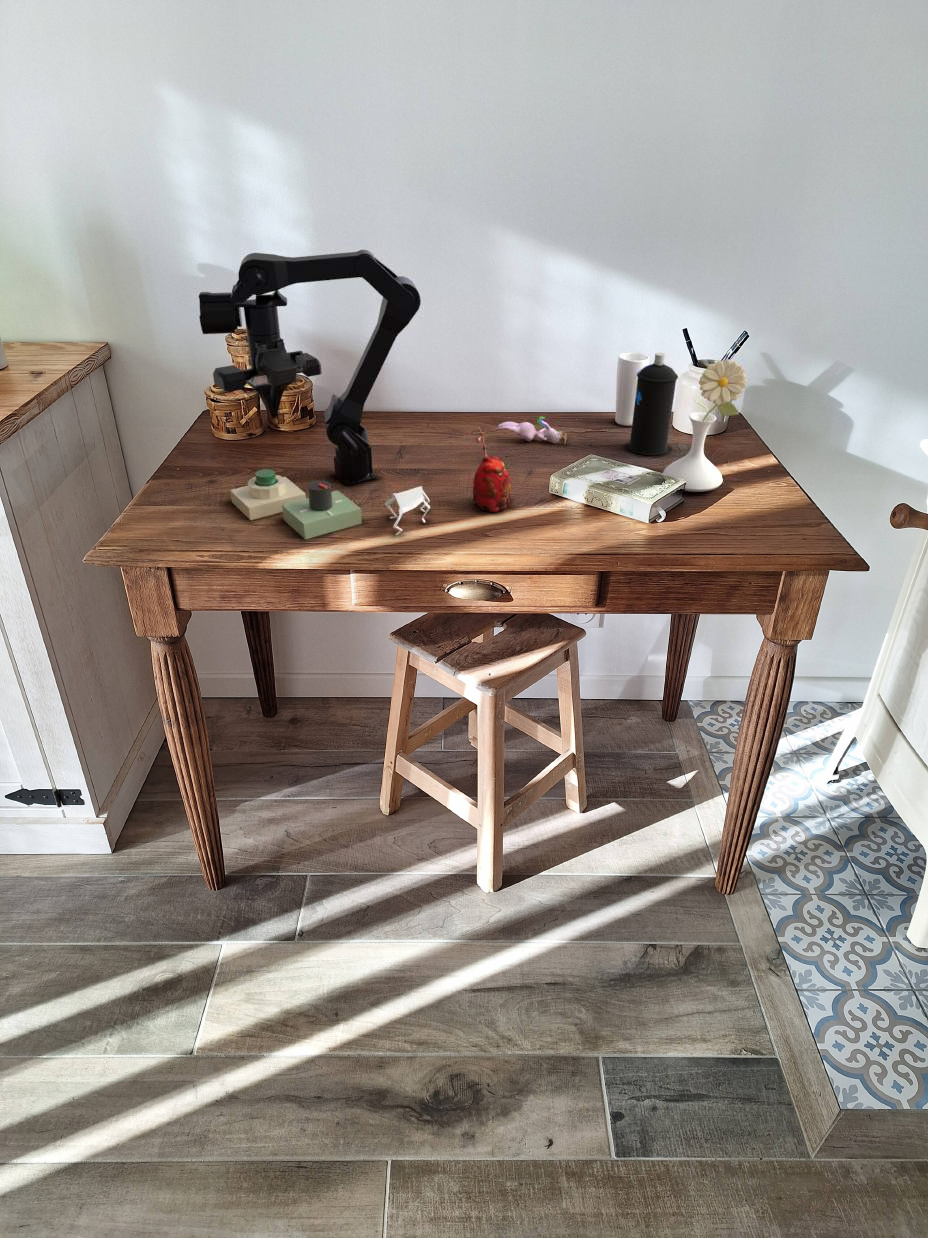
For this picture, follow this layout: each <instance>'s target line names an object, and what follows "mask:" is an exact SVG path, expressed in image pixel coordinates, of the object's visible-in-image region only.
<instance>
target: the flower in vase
mask: <svg viewBox="0 0 928 1238" xmlns="http://www.w3.org/2000/svg"><path fill="white" fill-rule="evenodd" d="M745 372H746V370H745V368H743V366H742V365H739V364H738V363H737V362H736V361H732V360H730V359H728V358H727V359H725V360H718V361H717V362H714V363H709V364H708V366H707V367H706V368H705V369H704V370H703V373H702V374H701V376H699V381H698V385H700V386H699V390H700V391H701V393H700V395H701V397H703V398H704V399H706V400H707V401H708V402H712V403H713V404H714V405H713V406H712V407H711V409H708V407H707V406H706V405H704V404H703V403H701V402H700V401H697V400H696V399H695V398H694V397H693V396H691V398H692V399H693V401H694V402H695V403H696V404H697V405H699V406H701V407H702V408H704V409H706V410H707V411H708V412H705V411H703V412H702V411H697V412H691V413H689V414H688V418H689V420H690V422H691V425H692V439H691V440H692V441H691V445H690V449H689V451H688V453H687V454H686V455H684V456H682V457H681V458H678V459H677V460H675V461H673V462H672V463H669V464H668V465H667V466H666V467H665V468H664V470H663V472H662V474H666V475H669V476H673V477H678V478H681V479H684V480H685V481H686V485H685V490H684V491H685V492H690V493H691V492H692V493H702V492H703V493H704V492H710V491H713V490H716V489H717V488H719V487H720V486H721V485H722V483H723V482H724V480H723V476H722V473H721V471H720V470H719V469H718V468H717V467H716V465H714V464H713V463H712V462H711V461H710V460H709V459H708V458H707V457H706V455H705V452H704V449H705V448H704V447H705V441H706V437H707V434H708V431H709V429H710V427H711V426H712V424H713V423H714V422H716V420H717V416H716V415H714V414H712V413H711V412H713V411H714V410H715V409H716V407H717V409H718V411H719V413H720V414H721V415H722V416H724V417H728V416H737V415H740V412H739V410H738V409H737V407H736V406H735V404H734V403H733V401H737V400H738V398H740V396H741V394H742V393H743V392H744V390H745V388H747V385H748V380H747V379H746V378H747V375H746V374H745Z"/></svg>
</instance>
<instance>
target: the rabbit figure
mask: <svg viewBox="0 0 928 1238" xmlns="http://www.w3.org/2000/svg"><path fill="white" fill-rule="evenodd" d="M545 419H546V417H545V416H539V417H538V418H537V420H536V423H537V425H538V426H539V427H541V428H542V429H540V430H538V431H537V430H536V427H535V426H534V424H532V423H531V422H529V421H528V422H527V421H524V422H520V423H519V422H518V423H517V422H515V421H504V422H502V423H500V424H498V425H497V430H509V431H511V432H514V433H515V434H517V436H518V437H519V439H522V440H525V441H526V442H528V443H529V442H531V441H533V440H534V439H535V437H537V438H538V439H539V440H541V441H547V442H549V443H551V444H553V445H556V444H559V442H560V441H561V439H563V440H564V441H563V444H564V445H566V442H567V440H568V438H567V437H568V436H567V433H568V432H567V431H565V432H564V431H562V430H560V431H557V430H556V429H555V428H552V427H550V425H549V424H548V422H545V421H544V420H545Z"/></svg>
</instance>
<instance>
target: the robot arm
mask: <svg viewBox="0 0 928 1238" xmlns="http://www.w3.org/2000/svg"><path fill="white" fill-rule="evenodd" d="M240 262H241V263H240V265H239V269H238V274H237V275H238V280H237V281H236V283H235V284H233V285H232V288H231V292H211V291H200V292H199V293H198V301H199V317H198V318H199V324H200V329H201V332H202V334H203V335H219V334H222V335H223V334H237V331H238V330H239V328H242V327H243V319H242V318H243V317H242V310H241V308H243V313H244V322H245V329H246V335H244V340H245V342H246V343H247V345H248V353H249V358H247V362H248V365H249V366H250V368H245V369H241V368H239V367H237V366H236V365H234V364H232V365H227V366H219V367H215V369H214V370H213V373H212V377H213V383H214V385H216V386H217V387H219V388H220V390H222V391H224V392H233V391H239V390H243V389H244V388H245V386H246V385H248V386H250V387H251V389H253V390H255V391H256V393H257V394H258V396H259V398H260V400H261V401H262V404H263V405H264V407H265V409H266V411H267V413H268V415H269V417H270V418H271V419H276V418H278V413H279V409H280V405H281V401H282V398H283V394H284V392H285V390H286V388H287V387H288V386H289V385H293V383H295V382H297V374H303V376H305V377H307V378H309V377H314V376H315V377H316V376H320V375H322V364H321V361H320V360H319V359H318V358H317V357H315V356H313V355H311V354H310V353H308V352H303V351H302V350H296V351H289V352H288V351H287V349H286V347H285V342H284V339H283V338H281V330H280V329H281V328H280V321H279V312H278V307H286V306H288V297H286V296H285V295H284V294H282V293H281V292H280V290H281V289H285V288H286V287H289V286H292V285H295V284H302V283H303V284H304V283H314V282H323V281H324V282H325V281H335V280H336V281H337V280H346V279H356V278H357V279H358V278H361V279H363V280H364V281H366V282H367V283H368V284H369V285H370V286H371V287H372V288H373V289H374V290H375V291H376V292H377V293H378V294H379V295H380V296H381V297H382V299H381V303H380V308H379V312H378V314H379V315H378V319H377V323H376V325H375V327H374V328H373V329H374V330H373V332H372V334H371V336H370V337H369V340H368V341H367V344H366V347H365V348H364V350H363V352H362V354H361V357H360V360H359V361H358V363H357V366H356V368H355V370H354V372H353V374H352V376H351V378H350V381H349V383H348V385H347V387H346V389H345V390H344V392H342V394H341V395H340V396H337V395H336V394H334V393H332V395H331V397H330V402H329V405H328V406H327V407H326V408H325V410H324V411H323V414H324V424H325V433H326V436H327V438H328V440H329V441H330V442H331V444H333V445H335V446H336V447H335V448H334V451H335V455H334V456H333V463H334V465H333V467H334V472H333V476H334V477H336V478H337V479H338V480H340V481H341V482H342V483H344V484H345V485H346V486H353V485H357V484H361V483H365V482H369V481H373V480H376V479H377V478H378V475H377V474H375V473H374V472H373V455H372V454H373V453H372V446H371V445H370V443H369V438H368V437H369V436H368V431H367V428H366V427H365V426H363V425H362V424H361V422H362V418H363V414H364V413H363V412H364V408H365V403H366V401H367V399H368V397H369V396H370V393H371V391H372V389H373V387H374V385H375V383H376V380H377V378H378V377H379V375H380V372H381V370H382V368H383V366H384V364H385V362H386V360H387V358H388V355H389V354H390V352H391V349H392V347H393V345H394V344H395V341H396V339H397V337H398V335H399V334H400V333H401V332H402V331H404V329H405V328H406V327H407V326H408V325H409V324H410V323H411V321H412V320H413V318H414V317H415V315H416V314H417V312H418V311H419V309H420V307H421V303H422V300H421V294H420V292H419V290H418V288H417V287H416V285H415V284H414V282H413V280H411V279H410V278H409V277H406V276H403V275H401V276H400V275H397V274H396V273H395V272H394V271H393V270H392V269H391V268H389V267H388V266H387V265H385V264H384V263H382V262H381V261H380V260H379V259H378V258H377V257H376V256H375V255H374V254H373V253H372V252H371V251H370V250H367V249H360V250H357V251H351V252H349V251H348V252H338V253H328V254H316V255H305V256H295V257H294V256H292V257H290V256H283V255H278V254H275V253H274V254H273V253H265V252H264V253H263V252H250V253H248V254H246V256H244V258H243V259H241V261H240ZM272 292H273V293H272ZM270 293H271V294H270ZM252 296H255V298H253V299H250V298H251V297H252Z"/></svg>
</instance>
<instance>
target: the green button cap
mask: <svg viewBox="0 0 928 1238" xmlns="http://www.w3.org/2000/svg"><path fill="white" fill-rule="evenodd" d="M276 475H277V474H276V471H275V470H273V469H269V468H265V469H259V470H257V471H256V472H255V473H254V477H256V484H257V485H258V486H271V485H274V484H276V483H277V482H276Z"/></svg>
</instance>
